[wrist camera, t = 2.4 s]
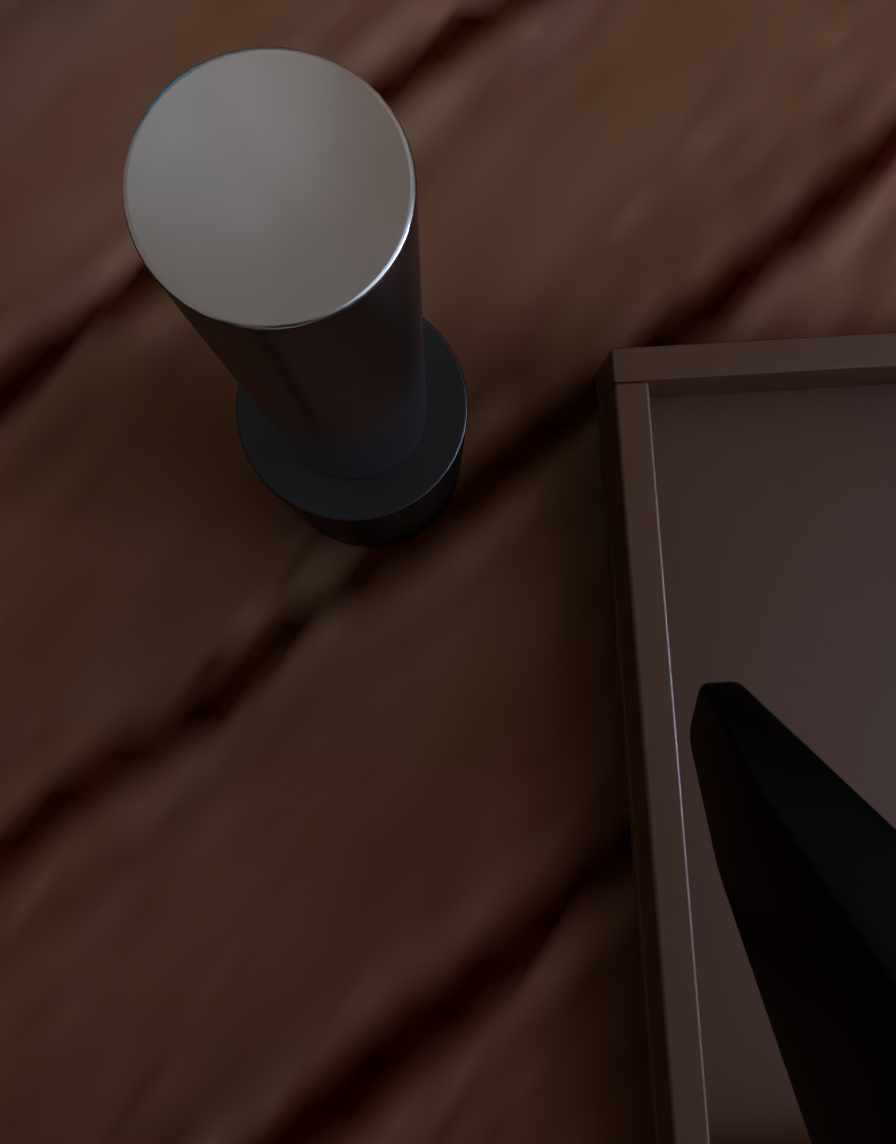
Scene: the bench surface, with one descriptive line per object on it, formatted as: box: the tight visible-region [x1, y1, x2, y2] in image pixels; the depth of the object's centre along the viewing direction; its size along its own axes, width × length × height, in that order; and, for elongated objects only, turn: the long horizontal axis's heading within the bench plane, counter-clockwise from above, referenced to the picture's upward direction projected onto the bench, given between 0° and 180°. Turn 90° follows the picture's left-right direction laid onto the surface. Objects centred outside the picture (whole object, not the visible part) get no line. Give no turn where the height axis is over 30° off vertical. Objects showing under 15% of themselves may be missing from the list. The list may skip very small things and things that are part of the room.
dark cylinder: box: [123, 47, 468, 547], centre depth 14 cm, size 4×4×13 cm
